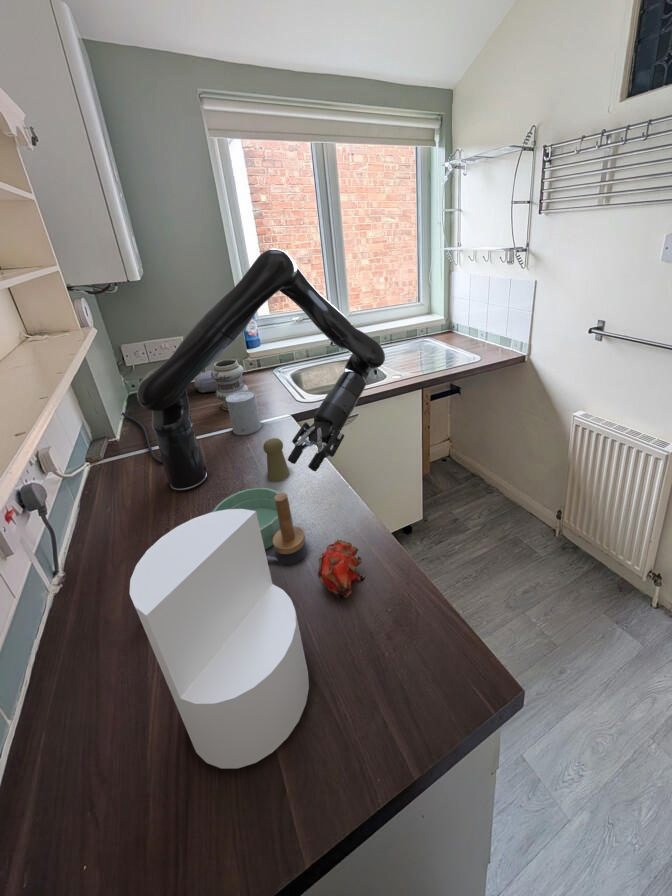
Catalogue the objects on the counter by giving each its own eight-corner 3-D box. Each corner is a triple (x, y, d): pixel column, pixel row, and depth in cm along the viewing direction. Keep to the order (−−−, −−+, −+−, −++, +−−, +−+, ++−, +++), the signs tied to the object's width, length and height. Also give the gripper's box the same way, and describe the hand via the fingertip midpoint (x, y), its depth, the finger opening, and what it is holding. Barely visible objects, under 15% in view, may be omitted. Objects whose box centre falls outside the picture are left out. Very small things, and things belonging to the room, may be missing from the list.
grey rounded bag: (243, 377, 187) (197, 384, 182) (240, 360, 184) (193, 367, 179) (243, 389, 174) (194, 397, 169) (239, 371, 171) (189, 379, 165)
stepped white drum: (161, 733, 57) (94, 590, 46) (246, 626, 71) (210, 497, 60) (258, 796, 50) (206, 645, 39) (330, 663, 64) (306, 526, 54)
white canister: (227, 432, 138) (219, 400, 133) (245, 420, 146) (238, 389, 142) (249, 436, 135) (242, 403, 130) (267, 423, 143) (260, 392, 138)
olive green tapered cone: (284, 481, 110) (277, 447, 106) (263, 480, 111) (256, 446, 107) (292, 469, 116) (287, 435, 111) (273, 467, 117) (267, 434, 113)
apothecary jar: (221, 414, 152) (211, 370, 145) (216, 403, 161) (206, 361, 154) (254, 406, 157) (245, 362, 150) (246, 396, 167) (238, 355, 160)
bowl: (199, 544, 90) (193, 523, 88) (251, 500, 103) (246, 481, 101) (254, 567, 83) (249, 545, 81) (302, 517, 96) (298, 497, 94)
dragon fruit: (343, 560, 85) (350, 616, 75) (307, 551, 82) (310, 608, 72) (364, 534, 83) (375, 589, 73) (329, 524, 79) (334, 579, 69)
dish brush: (269, 560, 85) (256, 502, 79) (289, 538, 90) (278, 483, 84) (294, 570, 82) (283, 511, 76) (313, 547, 87) (304, 490, 82)
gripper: (309, 397, 102) (273, 452, 96) (345, 402, 92) (308, 463, 86) (327, 414, 107) (294, 467, 100) (364, 420, 97) (329, 480, 90)
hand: (300, 465), depth 93 cm, fingers open, 8 cm apart
